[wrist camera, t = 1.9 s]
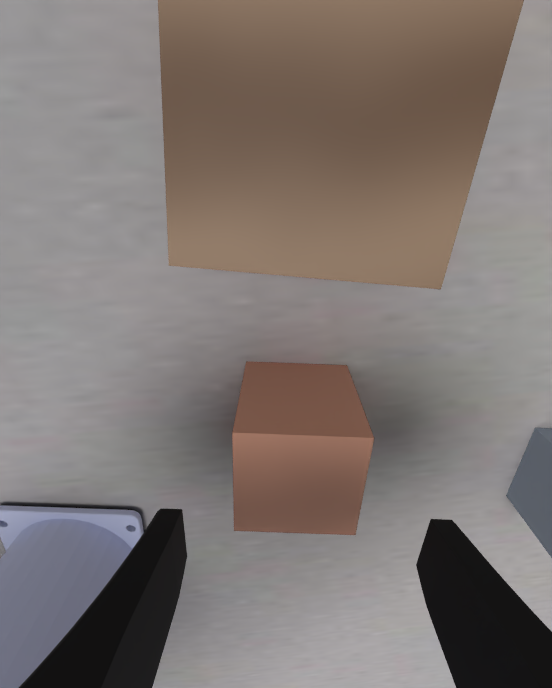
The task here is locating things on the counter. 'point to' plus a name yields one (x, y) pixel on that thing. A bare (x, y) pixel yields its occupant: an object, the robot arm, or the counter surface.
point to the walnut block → (326, 132)
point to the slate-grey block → (535, 486)
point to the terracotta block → (299, 450)
